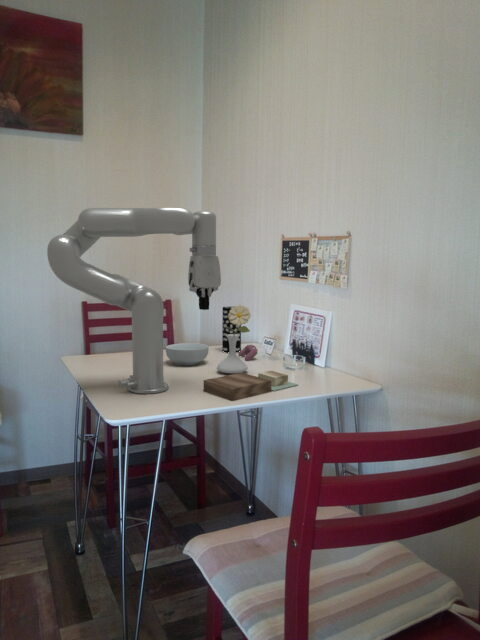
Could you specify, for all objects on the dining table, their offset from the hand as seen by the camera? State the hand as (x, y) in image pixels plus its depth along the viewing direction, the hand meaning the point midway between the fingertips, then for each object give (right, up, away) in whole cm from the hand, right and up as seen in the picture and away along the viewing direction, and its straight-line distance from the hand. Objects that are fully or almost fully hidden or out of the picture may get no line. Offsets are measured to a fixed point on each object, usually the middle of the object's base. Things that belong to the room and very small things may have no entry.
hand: (204, 309), depth 155 cm
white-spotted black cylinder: (+8, -18, +63) cm, 66 cm away
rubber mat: (+21, -25, +6) cm, 33 cm away
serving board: (+11, -26, -3) cm, 28 cm away
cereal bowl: (-9, -21, +37) cm, 44 cm away
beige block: (+23, -23, +6) cm, 33 cm away
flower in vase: (+9, -23, +22) cm, 33 cm away
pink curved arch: (+15, -20, +48) cm, 54 cm away
